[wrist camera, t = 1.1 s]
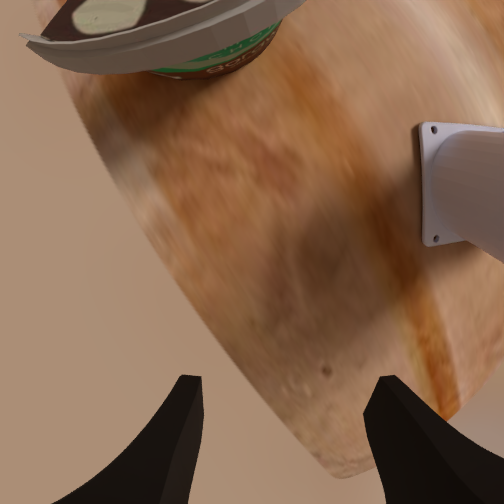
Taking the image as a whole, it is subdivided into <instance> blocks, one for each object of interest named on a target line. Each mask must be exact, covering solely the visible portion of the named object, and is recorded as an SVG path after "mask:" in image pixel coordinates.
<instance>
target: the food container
mask: <svg viewBox="0 0 504 504" xmlns="http://www.w3.org/2000/svg"><path fill="white" fill-rule="evenodd" d="M305 1H306V0H67V2H66V3H65V4H64V5H63V6H62V8H61V9H60V10H59V11H58V13H57V14H56V15H55V16H54V18H53V19H52V20H51V21H50V23H49V24H48V25H47V27H46V28H45V29H44V31H43V32H42V34H41V36H36V35H30V34H23V33H20V34H19V36H21V37H23V38H26V39H28V40H29V42H28V43H27V45H26V46H27V47H28V48H30V49H31V50H32V51H34V52H35V53H36V54H38V55H39V56H40V57H42V58H43V59H45V60H47V61H48V62H50V63H52V64H54V65H56V66H58V67H61V68H64V69H68V70H71V71H74V72H78V73H89V74H98V75H105V74H128V73H134V72H140V71H147V72H150V73H153V74H156V75H161V76H165V77H170V78H174V79H178V80H196V79H210V78H213V77H216V76H220V75H223V74H227V73H230V72H234V71H236V70H237V69H239V68H241V67H242V66H244V65H246V64H248V63H249V62H251V61H253V60H254V59H255V58H256V57H257V56H259V55H260V54H261V53H262V52H263V51H264V50H265V49H266V47H267V46H268V45H269V44H270V42H271V41H272V39H273V37H274V36H275V34H276V32H277V30H278V28H279V26H280V24H281V22H282V20H283V18H284V17H285V16H287V15H288V14H289V13H291V12H292V11H294V10H295V9H297V8H298V7H299V6H301V5H302V4H303V3H304V2H305Z"/></svg>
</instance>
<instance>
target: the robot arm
mask: <svg viewBox="0 0 504 504" xmlns="http://www.w3.org/2000/svg"><path fill="white" fill-rule="evenodd" d="M431 127H433V128H434V133H432V132H431ZM419 139H420V151H421V166H422V193H423V221H422V242H423V244H424V245H426V246H427V247H432V246H438V245H443V244H449V243H455V242H460V241H465V240H467V241H468V242H470V243H472V244H473V245H475V246H477V247H478V248H480V249H482V250H483V251H485V252H486V253H488V254H490V255H491V256H493V257H494V258H496V259H498V260H499V261H501V262H502V263H504V128H498V127H489V126H480V125H470V124H458V123H443V122H422V123H420V125H419ZM435 236H436V239H435V240H434V241H433V239H434V237H435ZM363 416H364V422H365V428H366V433H367V438H368V441H369V444H370V447H371V451H372V454H373V457H374V460H375V463H376V466H377V469H378V472H379V475H380V478H381V482H382V485H383V488H384V492H385V498H386V504H504V458H502V457H500V456H498V455H496V454H494V453H492V452H490V451H488V450H486V449H484V448H483V447H481V446H479V445H477V444H476V443H474V442H473V441H471V440H470V439H468V438H467V437H465V436H464V435H463V434H461V433H460V432H458V431H457V430H456V429H455V428H453V427H452V426H451V425H450V424H448V423H447V422H446V421H445V420H444V419H442V418H441V417H440V416H439V415H438V414H437V413H436V412H434V411H433V410H432V409H431V408H430V407H429V406H428V405H427V404H426V403H425V402H424V401H422V400H421V399H420V398H419V397H418V396H417V395H416V394H415V393H414V392H413V391H412V390H411V389H410V388H409V387H408V386H407V385H405V384H404V383H403V382H402V381H401V380H400V379H399V378H398V377H397V376H395V375H390V376H380V378H379V380H378V382H377V384H376V387H375V389H374V391H373V393H372V396H371V398H370V400H369V402H368V404H367V406H366V408H365V411H364V413H363ZM203 419H204V409H203V395H202V380H201V376H192V375H181V376H180V377H179V378H178V380H177V382H176V384H175V385H174V387H173V389H172V390H171V392H170V394H169V395H168V397H167V398H166V399H165V401H164V402H163V404H162V405H161V407H160V408H159V409H158V411H157V412H156V413H155V415H154V416H153V417H152V419H151V420H150V421H149V423H148V424H147V425H146V427H145V428H144V429H143V430H142V431H141V432H140V433H139V434H138V436H137V437H136V438H135V439H134V440H133V441H132V442H131V443H130V445H129V446H128V447H127V448H126V449H125V450H124V451H123V452H122V453H121V454H120V455H119V456H118V457H117V458H115V459H114V460H113V461H112V462H111V463H110V464H109V465H108V466H107V467H105V468H104V469H103V470H102V471H101V472H99V473H98V474H97V475H96V476H95V477H93V478H92V479H91V480H89V481H88V482H86V483H85V484H84V485H82V486H81V487H79V488H77V489H76V490H74V491H73V492H71V493H70V494H68V495H66V496H65V497H63V498H62V499H60V500H58V501H56V502H54V503H52V504H188V499H189V493H190V489H191V484H192V480H193V475H194V471H195V466H196V462H197V458H198V453H199V449H200V444H201V438H202V429H203Z"/></svg>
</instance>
